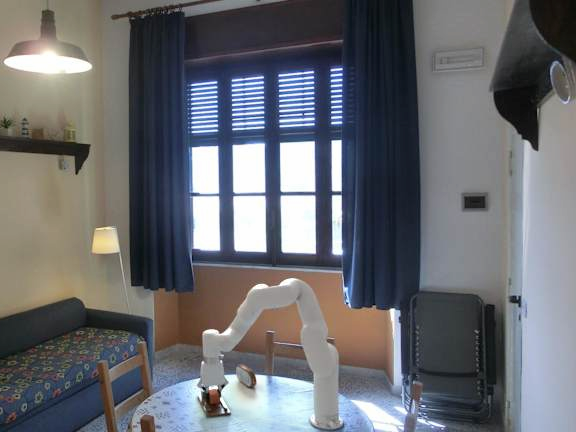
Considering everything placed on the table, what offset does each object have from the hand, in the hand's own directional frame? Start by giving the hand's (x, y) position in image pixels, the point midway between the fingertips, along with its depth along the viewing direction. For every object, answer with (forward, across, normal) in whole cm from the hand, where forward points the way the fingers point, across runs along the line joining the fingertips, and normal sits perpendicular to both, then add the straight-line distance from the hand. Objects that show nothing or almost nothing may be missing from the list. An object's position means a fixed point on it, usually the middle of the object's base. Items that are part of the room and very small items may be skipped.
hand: (213, 399), depth 217 cm
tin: (+3, -20, -18) cm, 27 cm away
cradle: (+2, 0, 0) cm, 2 cm away
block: (0, 0, 0) cm, 0 cm away
